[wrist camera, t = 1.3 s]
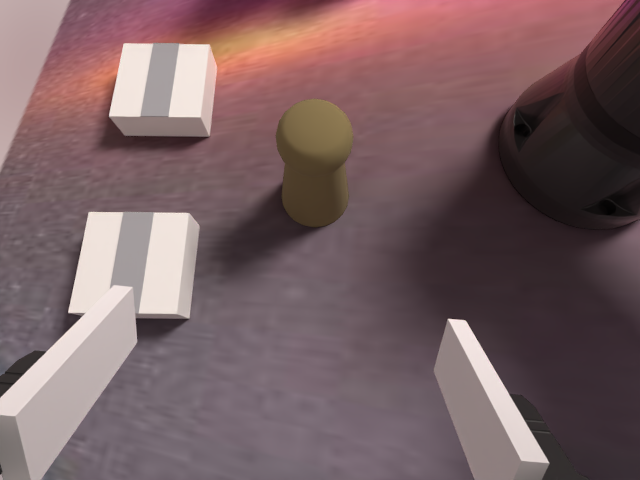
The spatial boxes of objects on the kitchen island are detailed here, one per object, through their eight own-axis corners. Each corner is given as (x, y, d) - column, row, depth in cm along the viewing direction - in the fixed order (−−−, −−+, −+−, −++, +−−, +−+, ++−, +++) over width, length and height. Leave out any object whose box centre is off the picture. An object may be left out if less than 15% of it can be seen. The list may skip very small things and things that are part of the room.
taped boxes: (137, 66, 40) (123, 42, 37) (217, 67, 40) (209, 43, 37) (90, 317, 32) (67, 312, 29) (189, 318, 32) (176, 313, 29)
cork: (348, 166, 36) (361, 84, 26) (349, 227, 34) (363, 166, 24) (283, 165, 36) (269, 82, 26) (280, 226, 34) (263, 164, 24)
